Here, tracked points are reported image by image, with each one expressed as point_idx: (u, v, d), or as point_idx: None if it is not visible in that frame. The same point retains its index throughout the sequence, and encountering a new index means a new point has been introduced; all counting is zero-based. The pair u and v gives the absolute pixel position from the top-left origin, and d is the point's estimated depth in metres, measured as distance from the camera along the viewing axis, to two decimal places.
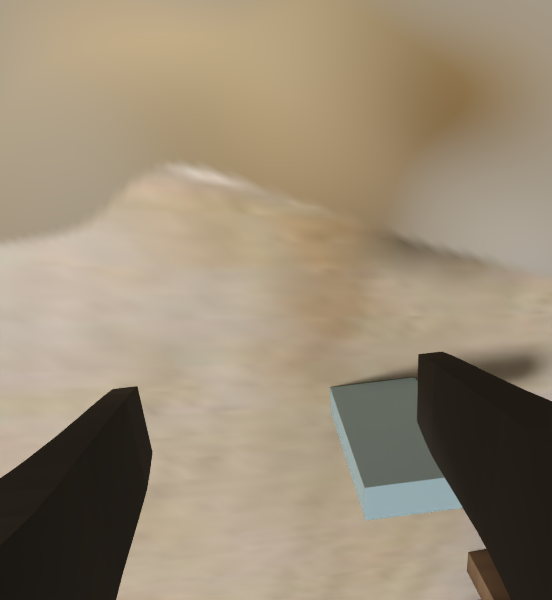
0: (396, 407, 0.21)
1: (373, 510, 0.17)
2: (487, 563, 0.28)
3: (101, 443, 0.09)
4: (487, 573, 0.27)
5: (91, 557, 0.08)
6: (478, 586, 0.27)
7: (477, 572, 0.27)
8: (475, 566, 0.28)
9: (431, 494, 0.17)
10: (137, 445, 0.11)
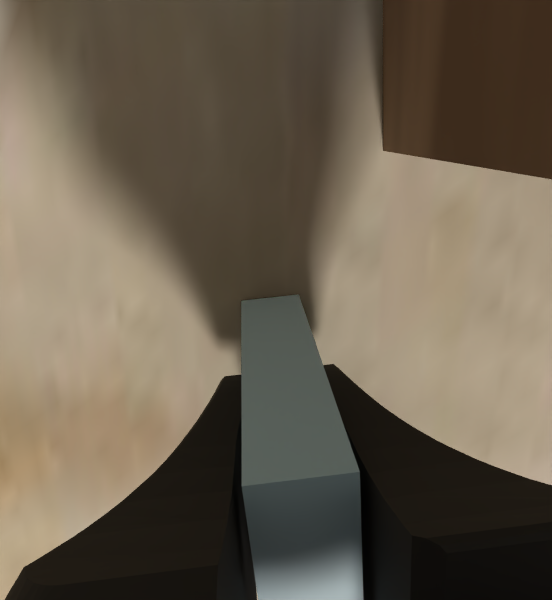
0: None
1: None
2: None
3: None
4: None
5: (247, 537, 0.08)
6: None
7: None
8: None
9: (304, 578, 0.07)
10: None
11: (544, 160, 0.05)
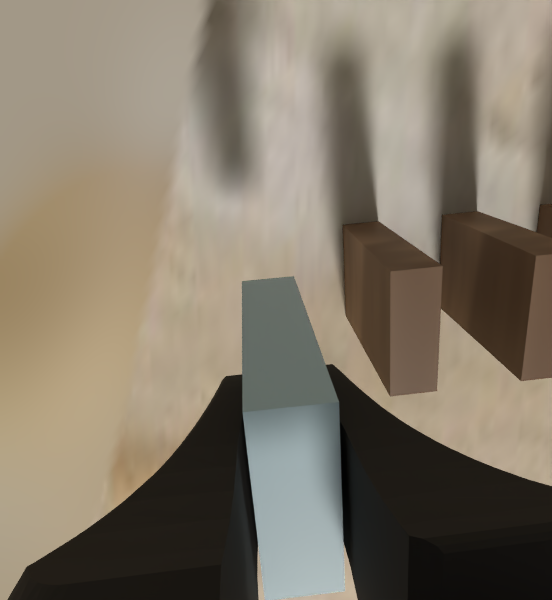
0: None
1: (321, 582, 0.09)
2: None
3: None
4: None
5: (249, 537, 0.08)
6: None
7: None
8: None
9: (293, 496, 0.08)
10: None
11: (386, 383, 0.16)
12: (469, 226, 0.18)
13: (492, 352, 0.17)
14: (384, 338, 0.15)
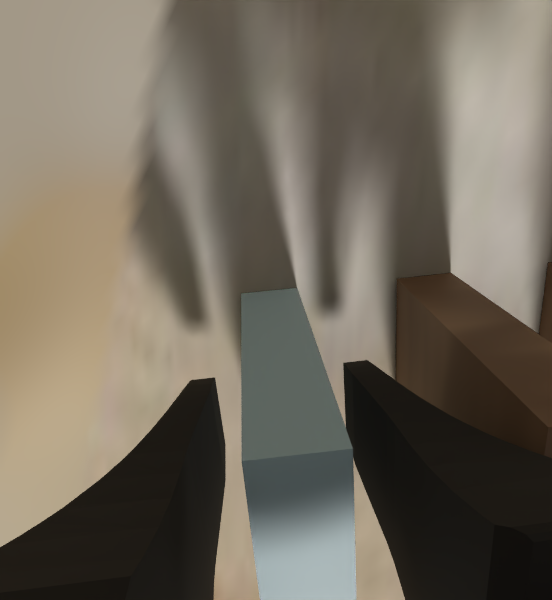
0: None
1: None
2: None
3: (199, 431, 0.09)
4: None
5: (200, 543, 0.08)
6: None
7: None
8: None
9: (300, 550, 0.07)
10: (218, 435, 0.11)
11: None
12: None
13: None
14: None
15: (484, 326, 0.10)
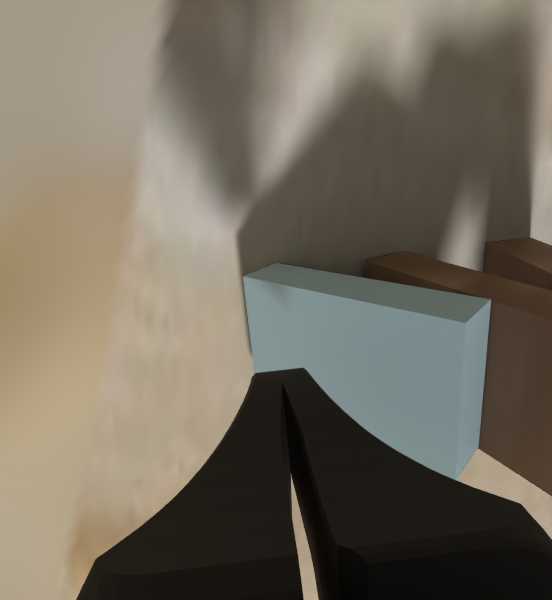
0: (305, 343, 0.14)
1: (473, 446, 0.12)
2: None
3: (281, 421, 0.09)
4: None
5: None
6: None
7: None
8: None
9: (472, 381, 0.11)
10: (285, 427, 0.11)
11: (539, 480, 0.11)
12: (530, 262, 0.13)
13: None
14: (541, 421, 0.11)
15: (473, 282, 0.12)
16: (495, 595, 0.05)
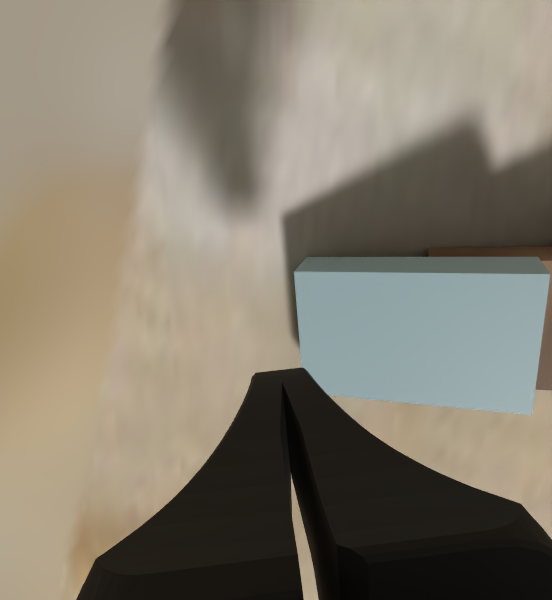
0: (373, 326, 0.14)
1: None
2: None
3: (281, 421, 0.09)
4: None
5: None
6: None
7: None
8: None
9: None
10: (286, 427, 0.11)
11: None
12: None
13: None
14: None
15: (551, 253, 0.14)
16: (495, 595, 0.05)
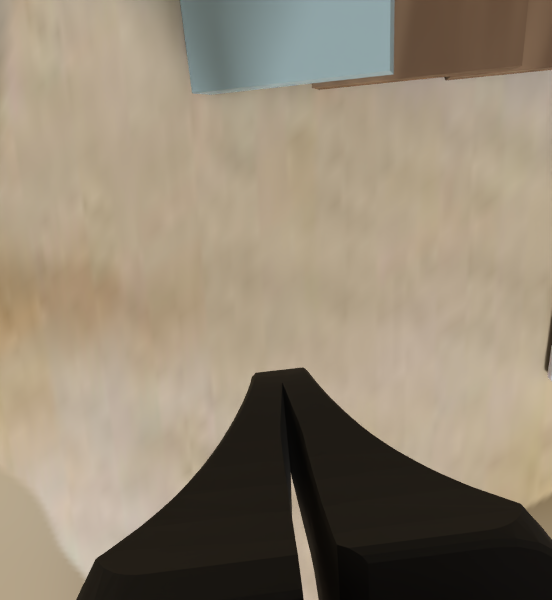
0: None
1: (392, 62, 0.15)
2: None
3: (281, 422, 0.09)
4: None
5: None
6: None
7: None
8: None
9: None
10: (286, 427, 0.11)
11: (505, 61, 0.15)
12: None
13: None
14: (506, 3, 0.15)
15: None
16: (495, 595, 0.05)
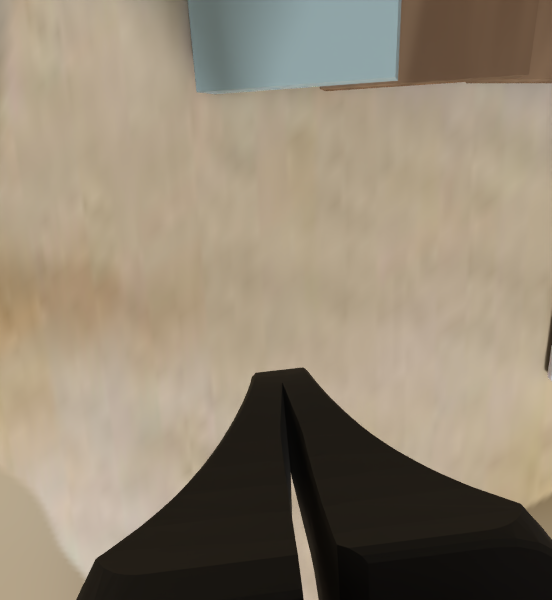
0: None
1: (397, 69, 0.16)
2: None
3: (281, 421, 0.09)
4: None
5: None
6: None
7: None
8: None
9: None
10: (286, 427, 0.11)
11: (513, 69, 0.15)
12: None
13: None
14: (515, 12, 0.15)
15: None
16: (496, 596, 0.05)
